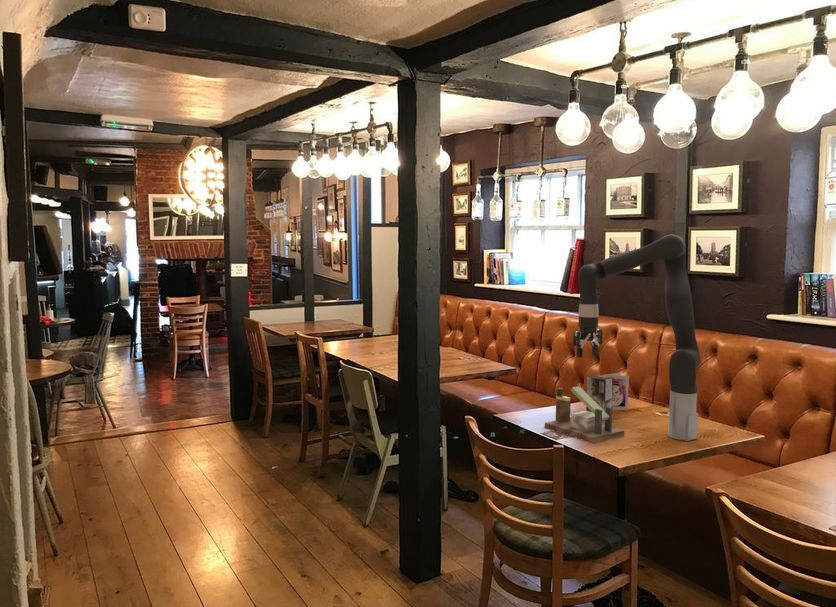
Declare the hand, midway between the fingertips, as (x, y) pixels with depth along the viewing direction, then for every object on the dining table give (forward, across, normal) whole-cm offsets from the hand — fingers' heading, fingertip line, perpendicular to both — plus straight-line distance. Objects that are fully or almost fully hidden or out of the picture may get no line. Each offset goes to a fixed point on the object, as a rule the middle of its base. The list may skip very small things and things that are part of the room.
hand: (587, 356), depth 262 cm
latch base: (+27, -10, -8) cm, 30 cm away
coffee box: (+27, +15, +6) cm, 31 cm away
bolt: (+17, -10, +3) cm, 20 cm away
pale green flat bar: (+16, -10, -10) cm, 21 cm away
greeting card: (+27, +29, +10) cm, 41 cm away
